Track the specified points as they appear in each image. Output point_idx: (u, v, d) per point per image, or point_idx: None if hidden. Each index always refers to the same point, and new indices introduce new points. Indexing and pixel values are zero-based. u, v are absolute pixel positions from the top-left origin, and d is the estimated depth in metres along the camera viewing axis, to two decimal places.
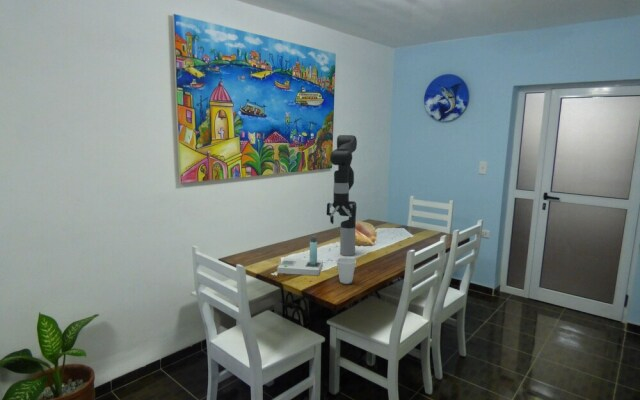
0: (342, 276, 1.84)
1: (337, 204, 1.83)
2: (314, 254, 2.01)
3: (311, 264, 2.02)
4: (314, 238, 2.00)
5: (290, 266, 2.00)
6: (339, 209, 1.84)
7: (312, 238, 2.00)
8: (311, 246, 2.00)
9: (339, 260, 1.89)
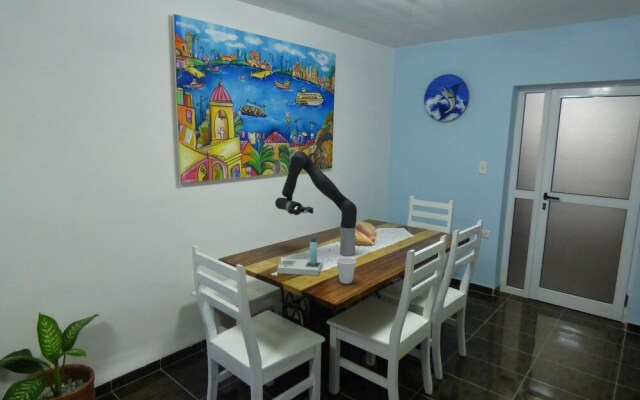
0: (342, 276, 1.84)
1: None
2: (314, 254, 2.01)
3: (311, 264, 2.02)
4: (314, 238, 2.00)
5: (290, 266, 2.00)
6: None
7: (312, 238, 2.00)
8: (311, 246, 2.00)
9: (339, 260, 1.89)
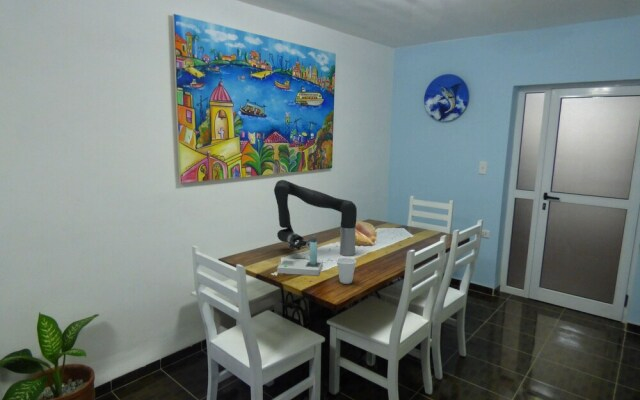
0: (342, 276, 1.84)
1: None
2: (314, 254, 2.01)
3: (311, 264, 2.02)
4: (314, 238, 2.00)
5: (290, 266, 2.00)
6: None
7: (312, 238, 2.00)
8: (311, 246, 2.00)
9: (339, 260, 1.89)
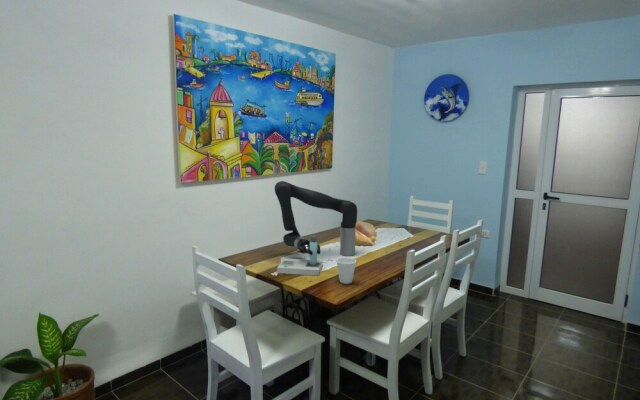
0: (342, 276, 1.84)
1: None
2: (314, 254, 2.00)
3: (311, 264, 2.02)
4: (314, 238, 2.00)
5: (290, 266, 2.00)
6: None
7: (312, 238, 2.00)
8: (311, 246, 2.00)
9: (339, 260, 1.89)
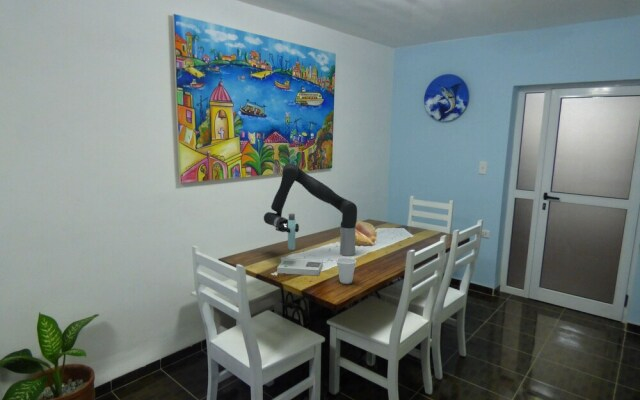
0: (342, 276, 1.84)
1: None
2: (292, 232, 2.00)
3: (289, 242, 2.01)
4: (292, 216, 1.99)
5: (290, 266, 2.00)
6: None
7: (290, 216, 1.99)
8: (289, 224, 2.00)
9: (339, 260, 1.89)
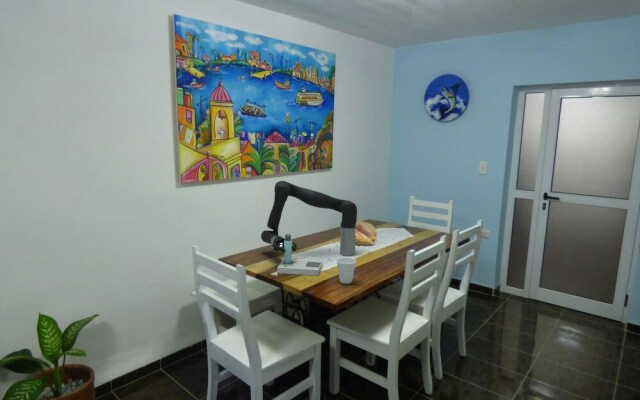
0: (342, 276, 1.84)
1: None
2: (288, 253, 2.03)
3: (286, 262, 2.04)
4: (288, 237, 2.02)
5: (290, 266, 2.00)
6: None
7: (286, 237, 2.02)
8: (285, 245, 2.02)
9: (339, 260, 1.89)
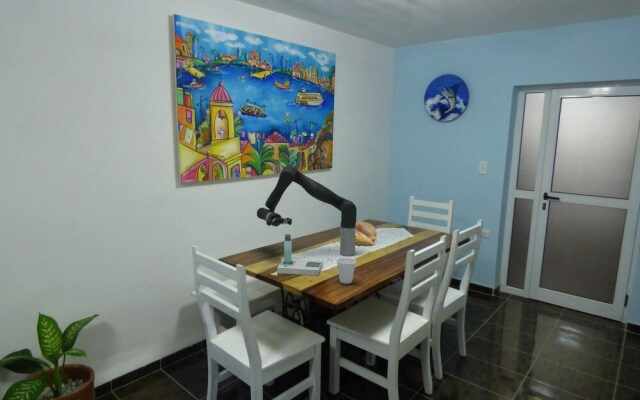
0: (342, 276, 1.84)
1: None
2: (288, 253, 2.03)
3: (286, 262, 2.04)
4: (288, 237, 2.02)
5: (290, 266, 2.00)
6: None
7: (286, 237, 2.02)
8: (285, 245, 2.02)
9: (339, 260, 1.89)
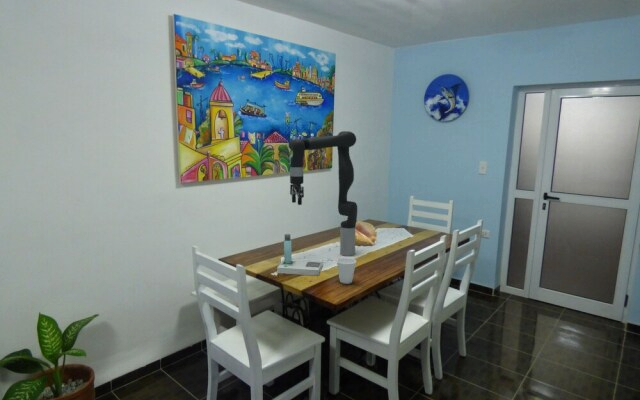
0: (342, 276, 1.84)
1: (293, 185, 2.12)
2: (288, 252, 2.03)
3: (286, 262, 2.04)
4: (288, 237, 2.02)
5: (290, 266, 2.00)
6: (294, 190, 2.12)
7: (286, 237, 2.02)
8: (285, 245, 2.02)
9: (339, 260, 1.89)
